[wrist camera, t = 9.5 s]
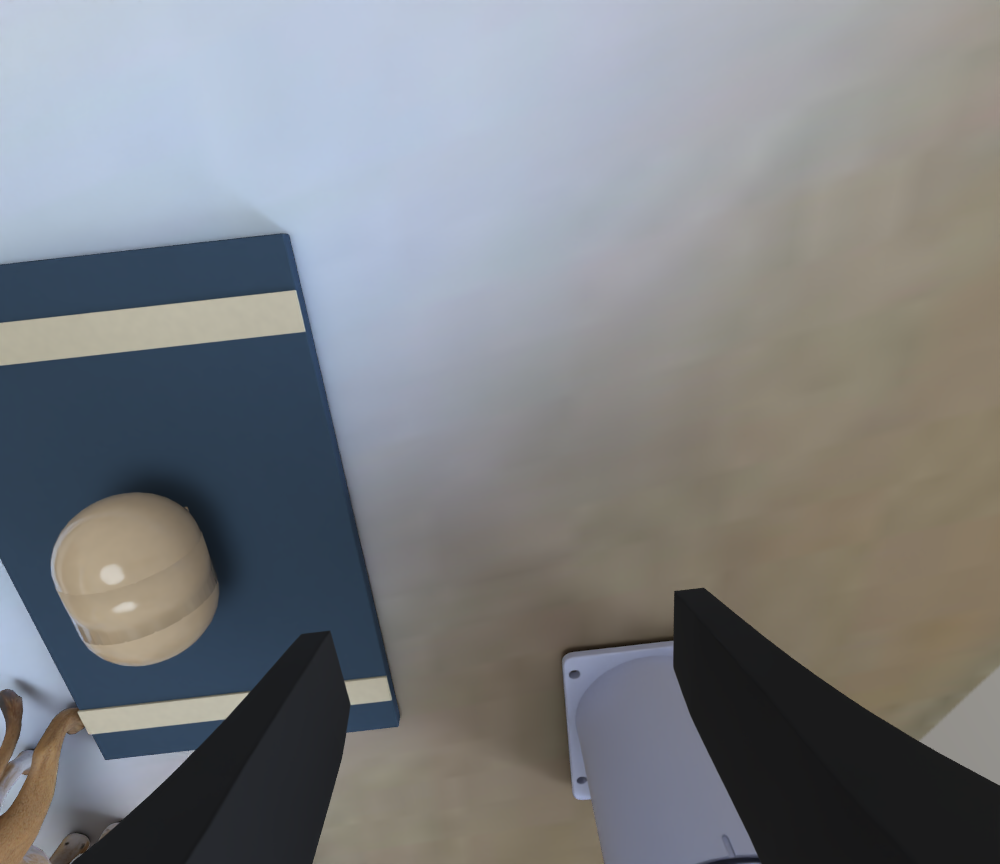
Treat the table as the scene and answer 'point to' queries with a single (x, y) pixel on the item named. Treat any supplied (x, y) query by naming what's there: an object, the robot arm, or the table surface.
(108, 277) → the towel
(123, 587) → the egg
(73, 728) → the lion figurine
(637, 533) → the table surface
